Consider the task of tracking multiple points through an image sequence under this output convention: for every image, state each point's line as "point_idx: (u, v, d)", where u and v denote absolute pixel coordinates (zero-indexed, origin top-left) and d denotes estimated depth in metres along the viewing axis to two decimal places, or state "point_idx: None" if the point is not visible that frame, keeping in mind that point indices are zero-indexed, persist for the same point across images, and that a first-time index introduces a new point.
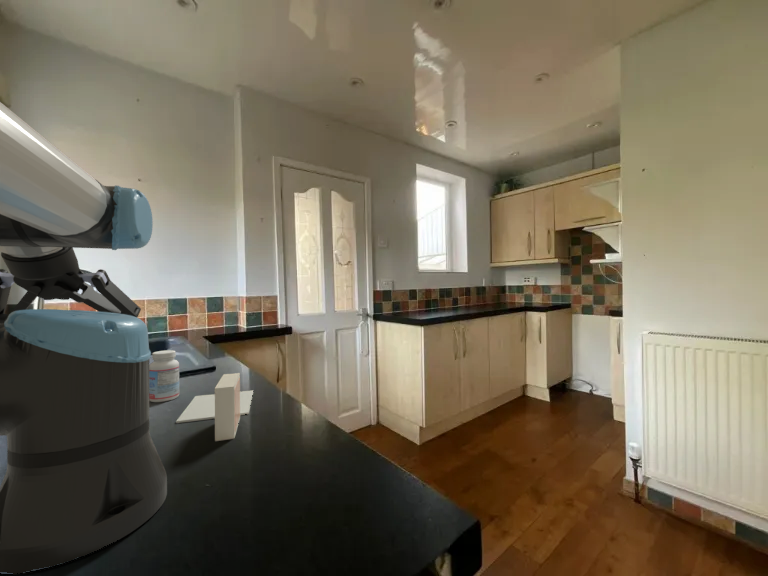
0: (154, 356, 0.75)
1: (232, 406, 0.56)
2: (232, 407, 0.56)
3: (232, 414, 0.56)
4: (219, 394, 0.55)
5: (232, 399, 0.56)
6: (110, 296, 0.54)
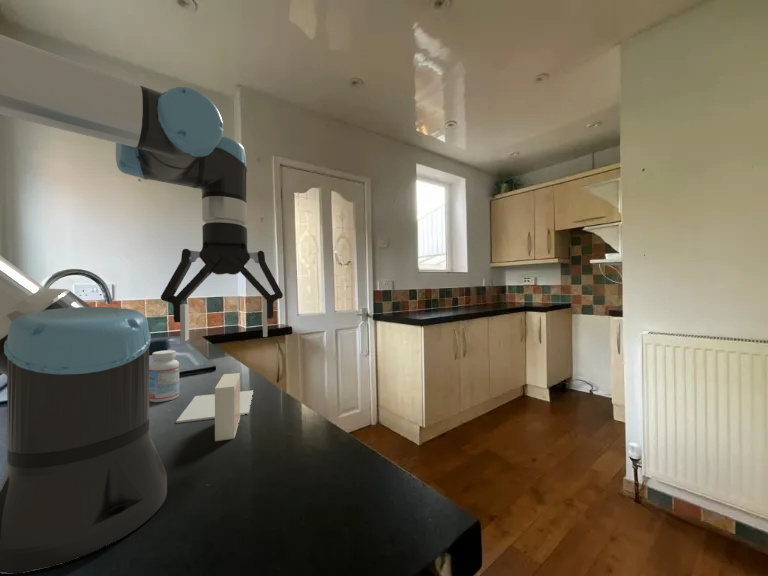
0: (154, 356, 0.75)
1: (232, 406, 0.56)
2: (232, 407, 0.56)
3: (232, 414, 0.56)
4: (219, 394, 0.55)
5: (232, 399, 0.56)
6: (267, 271, 0.62)
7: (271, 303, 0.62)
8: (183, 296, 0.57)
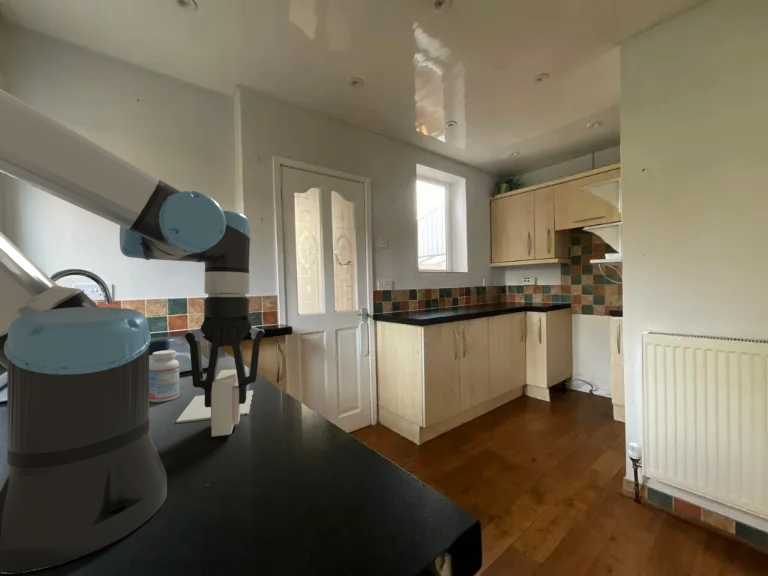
0: (154, 356, 0.75)
1: (229, 401, 0.55)
2: (229, 402, 0.55)
3: (229, 409, 0.55)
4: (217, 389, 0.55)
5: (230, 394, 0.56)
6: (256, 351, 0.61)
7: (243, 388, 0.60)
8: (211, 380, 0.58)
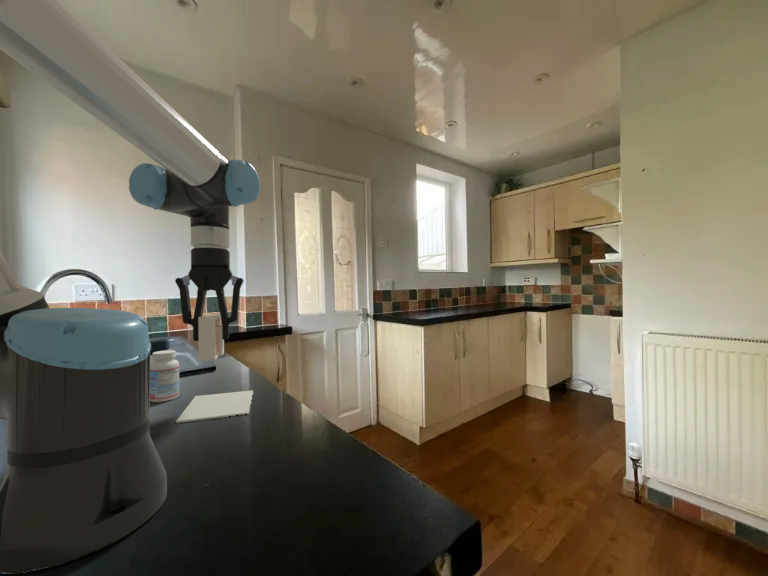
0: (154, 356, 0.75)
1: (213, 333, 0.67)
2: (213, 333, 0.67)
3: (213, 339, 0.67)
4: (202, 322, 0.66)
5: (213, 327, 0.67)
6: (236, 295, 0.72)
7: (226, 326, 0.71)
8: None
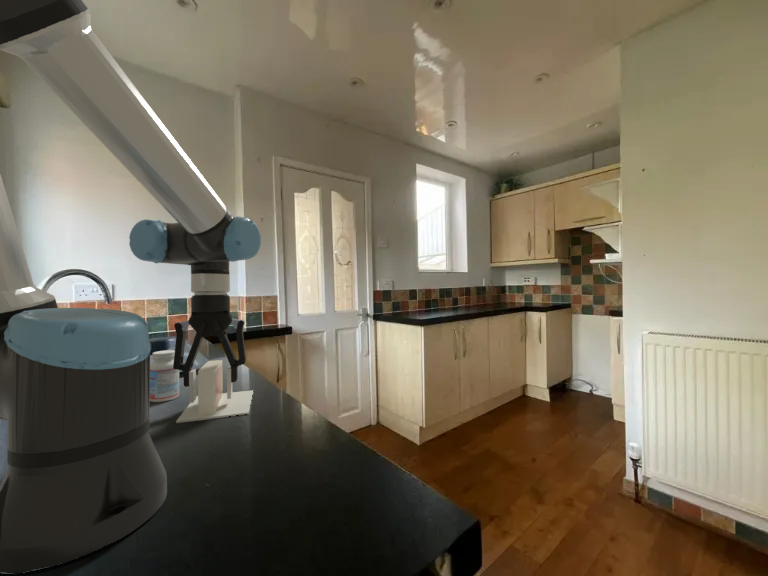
0: (154, 356, 0.75)
1: (213, 386, 0.66)
2: (213, 387, 0.66)
3: (213, 393, 0.66)
4: (202, 376, 0.66)
5: (213, 380, 0.66)
6: (240, 338, 0.72)
7: (235, 368, 0.72)
8: (190, 364, 0.69)
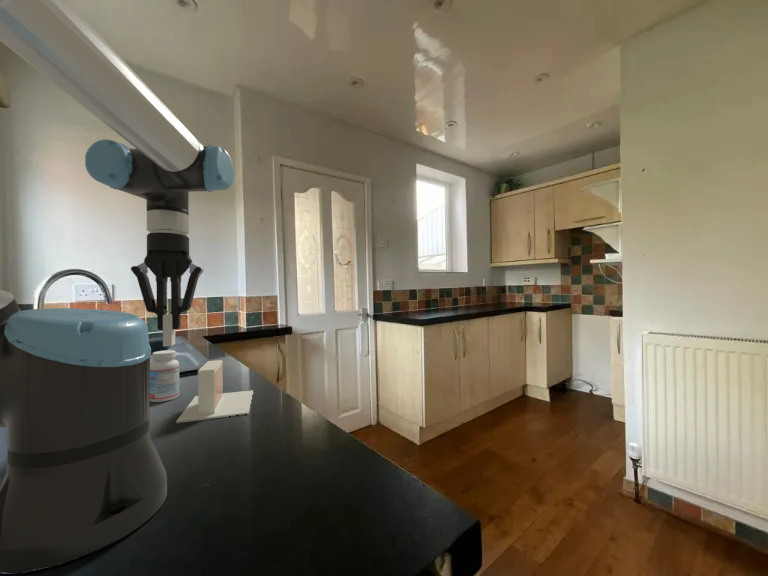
0: (154, 356, 0.75)
1: (213, 386, 0.66)
2: (213, 387, 0.66)
3: (213, 393, 0.66)
4: (202, 376, 0.66)
5: (213, 380, 0.66)
6: (191, 284, 0.69)
7: (176, 315, 0.68)
8: (162, 306, 0.67)
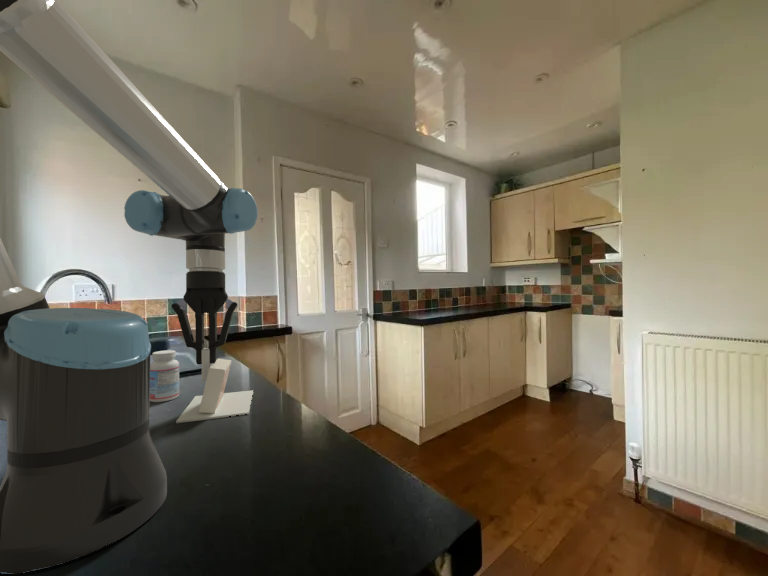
0: (154, 356, 0.75)
1: (219, 386, 0.67)
2: (219, 386, 0.67)
3: (218, 392, 0.67)
4: (212, 373, 0.66)
5: (221, 380, 0.67)
6: (228, 319, 0.71)
7: (213, 349, 0.71)
8: (200, 341, 0.69)
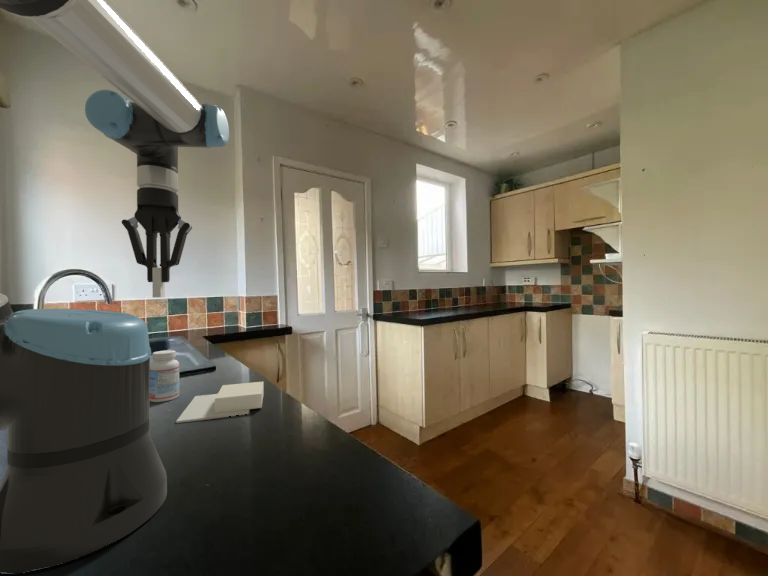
0: (154, 356, 0.75)
1: (244, 408, 0.68)
2: (243, 408, 0.68)
3: (237, 409, 0.68)
4: (255, 398, 0.69)
5: (250, 407, 0.69)
6: (180, 239, 0.72)
7: (165, 268, 0.71)
8: (151, 258, 0.70)
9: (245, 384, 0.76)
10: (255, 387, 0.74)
